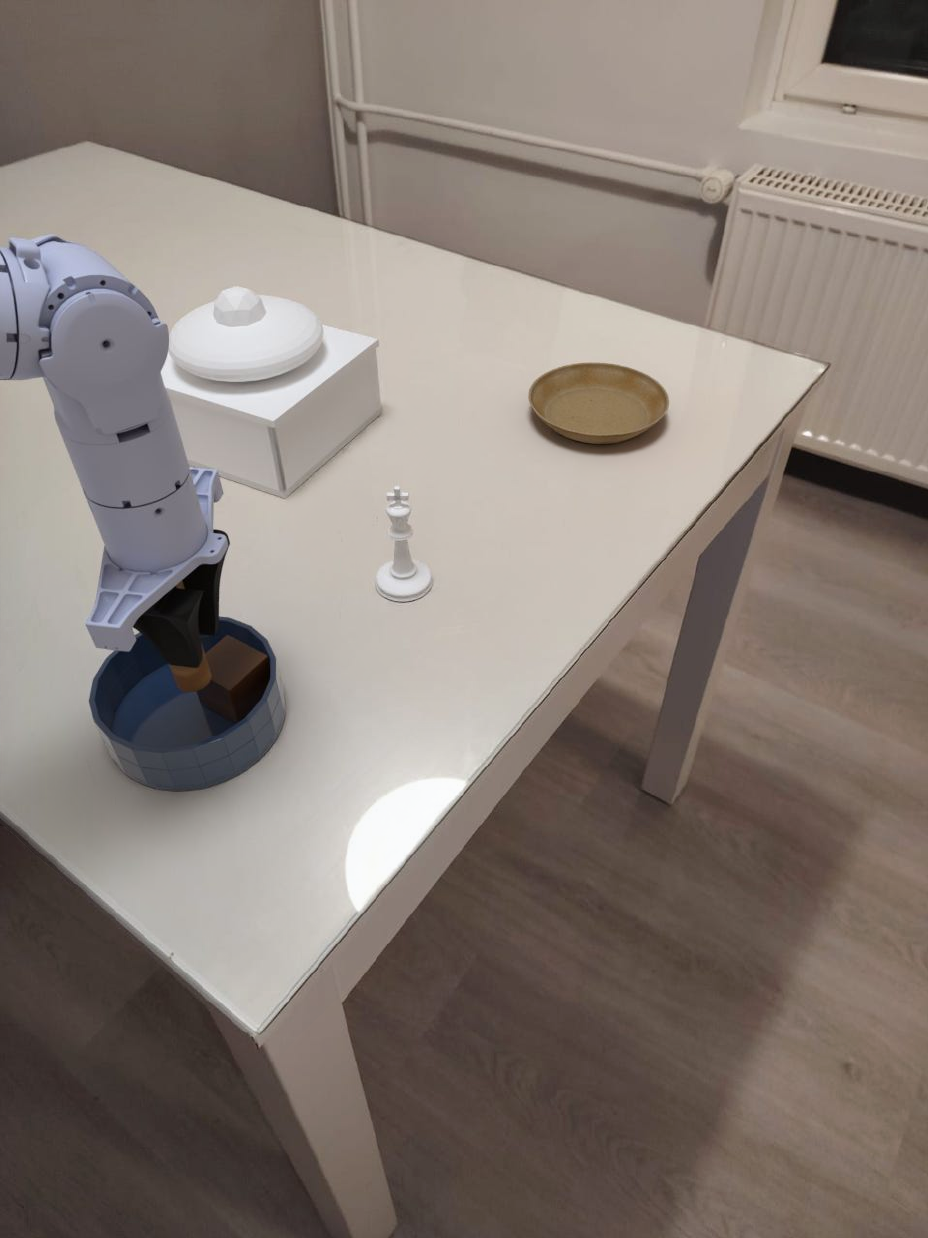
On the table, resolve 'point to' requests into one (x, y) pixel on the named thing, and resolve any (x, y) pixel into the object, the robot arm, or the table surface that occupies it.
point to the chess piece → (402, 557)
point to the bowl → (180, 717)
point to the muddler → (191, 671)
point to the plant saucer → (598, 402)
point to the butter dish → (267, 389)
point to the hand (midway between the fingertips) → (194, 646)
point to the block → (235, 679)
